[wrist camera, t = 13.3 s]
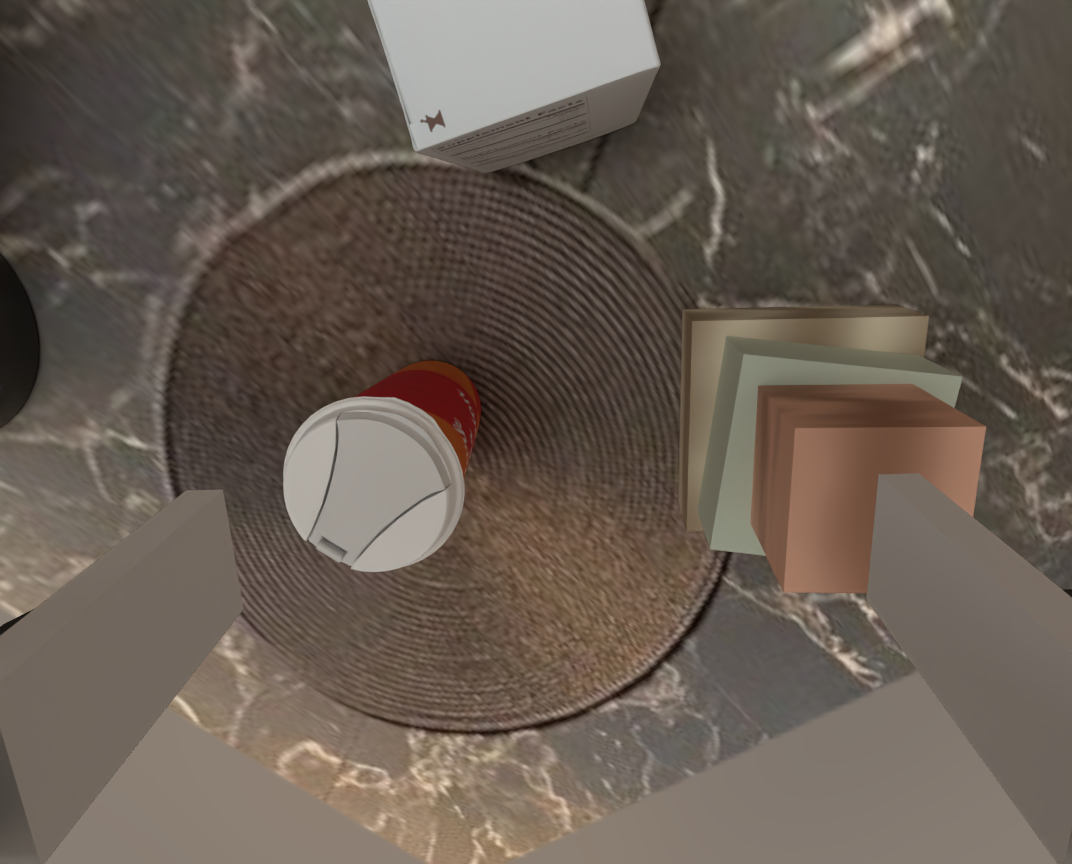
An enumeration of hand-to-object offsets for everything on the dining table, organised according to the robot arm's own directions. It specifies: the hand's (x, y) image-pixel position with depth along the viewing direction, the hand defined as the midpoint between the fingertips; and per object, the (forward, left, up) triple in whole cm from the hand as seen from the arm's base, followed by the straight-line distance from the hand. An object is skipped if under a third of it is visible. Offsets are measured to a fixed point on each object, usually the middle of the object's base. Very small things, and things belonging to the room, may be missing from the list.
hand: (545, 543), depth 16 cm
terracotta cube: (+12, -6, -22) cm, 25 cm away
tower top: (+12, -6, -27) cm, 30 cm away
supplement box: (-2, +14, -31) cm, 34 cm away
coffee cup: (-9, -5, -31) cm, 33 cm away
